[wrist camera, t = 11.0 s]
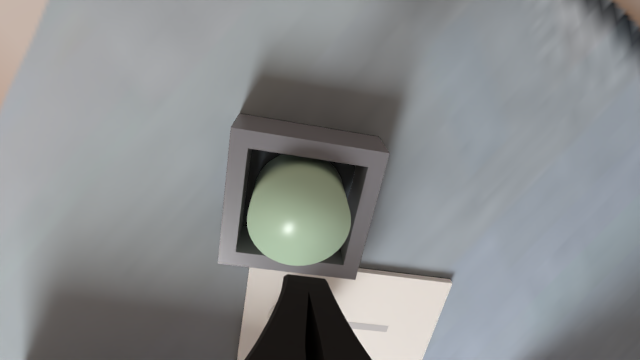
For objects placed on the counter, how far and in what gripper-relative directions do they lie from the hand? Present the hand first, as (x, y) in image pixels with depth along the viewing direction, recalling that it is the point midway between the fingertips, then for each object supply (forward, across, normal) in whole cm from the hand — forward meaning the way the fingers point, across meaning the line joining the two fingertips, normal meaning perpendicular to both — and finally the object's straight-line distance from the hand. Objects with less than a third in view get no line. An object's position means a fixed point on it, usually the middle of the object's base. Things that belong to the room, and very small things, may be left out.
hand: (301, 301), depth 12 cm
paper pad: (+9, -4, +9) cm, 13 cm away
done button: (+8, 0, 0) cm, 8 cm away
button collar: (+8, 0, 0) cm, 9 cm away
